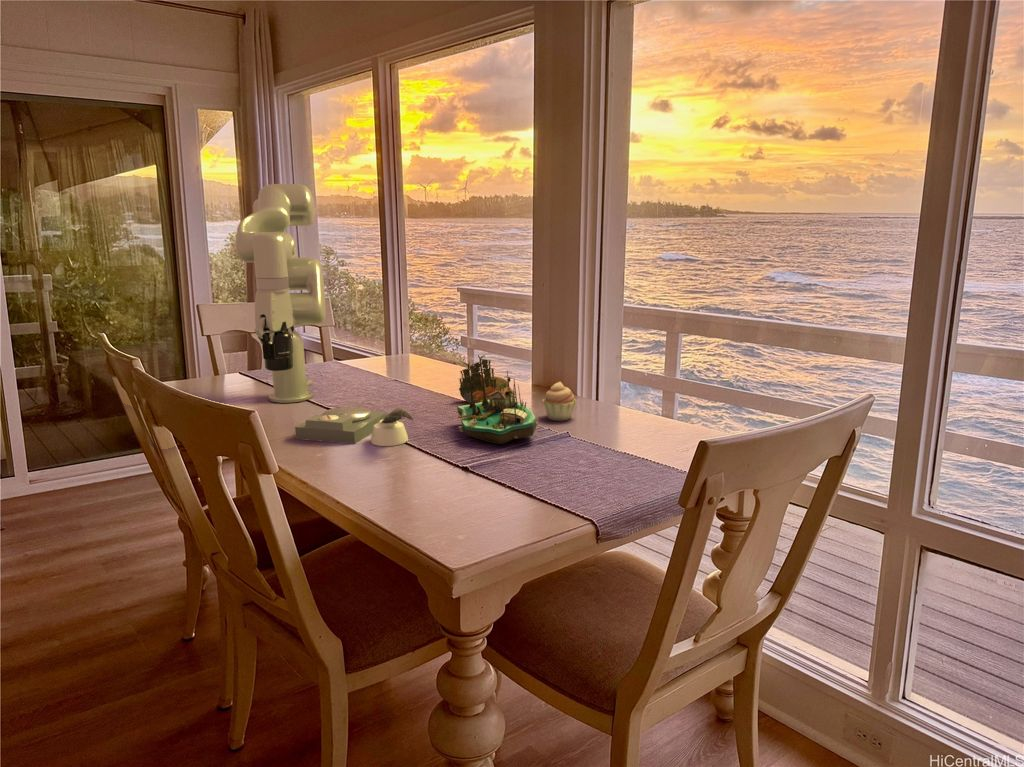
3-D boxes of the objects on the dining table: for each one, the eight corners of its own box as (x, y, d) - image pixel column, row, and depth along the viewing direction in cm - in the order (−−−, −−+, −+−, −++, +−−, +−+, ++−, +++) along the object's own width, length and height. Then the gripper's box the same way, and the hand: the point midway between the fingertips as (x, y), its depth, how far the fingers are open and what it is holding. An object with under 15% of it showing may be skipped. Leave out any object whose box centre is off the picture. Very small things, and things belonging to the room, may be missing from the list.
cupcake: (583, 417, 194) (584, 381, 191) (561, 424, 187) (562, 387, 185) (557, 411, 200) (557, 376, 198) (534, 418, 193) (534, 382, 191)
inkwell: (397, 433, 181) (395, 394, 179) (434, 450, 167) (433, 409, 165) (363, 439, 176) (361, 400, 174) (399, 458, 162) (397, 416, 160)
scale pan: (337, 408, 192) (337, 405, 192) (378, 411, 189) (378, 407, 189) (314, 420, 181) (313, 416, 181) (357, 424, 178) (357, 420, 178)
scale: (332, 419, 194) (331, 399, 193) (387, 423, 190) (386, 403, 189) (296, 438, 177) (294, 417, 176) (354, 443, 173) (353, 421, 172)
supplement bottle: (285, 371, 177) (281, 323, 174) (260, 370, 179) (255, 323, 176) (298, 366, 184) (295, 319, 181) (274, 365, 185) (270, 318, 182)
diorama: (504, 414, 195) (497, 346, 190) (553, 439, 174) (546, 363, 168) (440, 431, 187) (431, 360, 182) (483, 460, 166) (474, 380, 160)
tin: (459, 402, 211) (459, 374, 209) (464, 400, 213) (463, 372, 211) (507, 407, 205) (507, 378, 203) (511, 404, 208) (511, 376, 206)
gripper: (279, 281, 185) (284, 349, 190) (237, 288, 169) (244, 362, 173) (305, 281, 183) (310, 350, 188) (265, 289, 167) (271, 364, 171)
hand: (278, 355), depth 180 cm, fingers closed on supplement bottle, 6 cm apart
